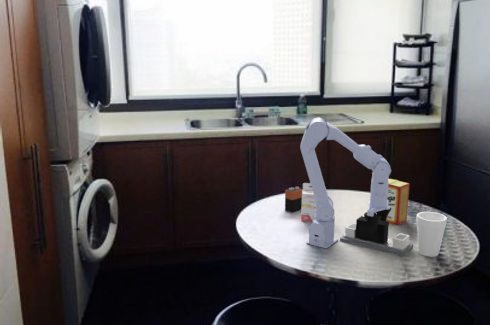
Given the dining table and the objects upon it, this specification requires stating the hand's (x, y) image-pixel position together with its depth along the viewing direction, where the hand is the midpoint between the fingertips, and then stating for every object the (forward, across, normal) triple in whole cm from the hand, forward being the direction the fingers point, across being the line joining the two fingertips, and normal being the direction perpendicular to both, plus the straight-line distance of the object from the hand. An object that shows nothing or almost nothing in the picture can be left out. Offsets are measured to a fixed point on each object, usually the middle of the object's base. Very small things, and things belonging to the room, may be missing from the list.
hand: (376, 230), depth 175 cm
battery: (+5, +14, +42) cm, 45 cm away
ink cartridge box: (+5, +8, +30) cm, 32 cm away
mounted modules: (+3, 0, 0) cm, 3 cm away
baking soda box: (+5, +26, +4) cm, 27 cm away
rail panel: (+5, 0, 0) cm, 5 cm away
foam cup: (+5, +3, -17) cm, 18 cm away
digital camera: (+4, 0, +1) cm, 4 cm away
